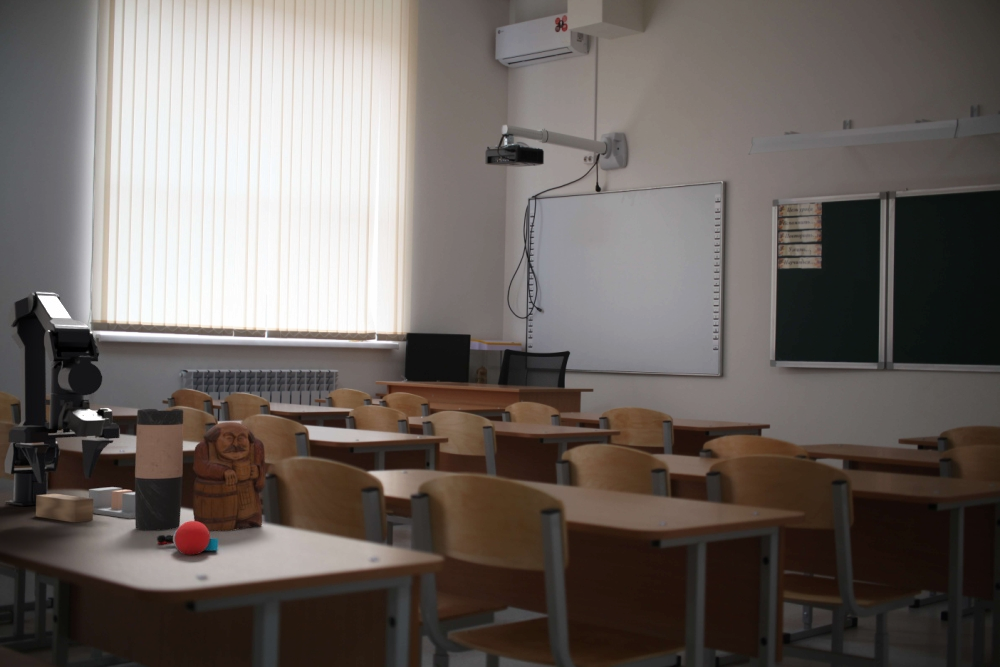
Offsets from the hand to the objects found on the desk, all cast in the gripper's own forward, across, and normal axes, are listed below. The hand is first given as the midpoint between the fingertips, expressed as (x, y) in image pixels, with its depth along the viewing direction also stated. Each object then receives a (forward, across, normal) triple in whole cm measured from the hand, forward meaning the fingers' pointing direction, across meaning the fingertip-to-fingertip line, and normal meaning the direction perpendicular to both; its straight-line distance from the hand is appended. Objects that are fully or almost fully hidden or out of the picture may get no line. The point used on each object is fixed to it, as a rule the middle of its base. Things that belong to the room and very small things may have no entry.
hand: (64, 480), depth 178 cm
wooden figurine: (+7, +10, -32) cm, 34 cm away
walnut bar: (+7, 0, 0) cm, 7 cm away
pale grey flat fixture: (+7, +11, -2) cm, 13 cm away
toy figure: (+7, -8, -43) cm, 44 cm away
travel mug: (+7, +3, -22) cm, 23 cm away
